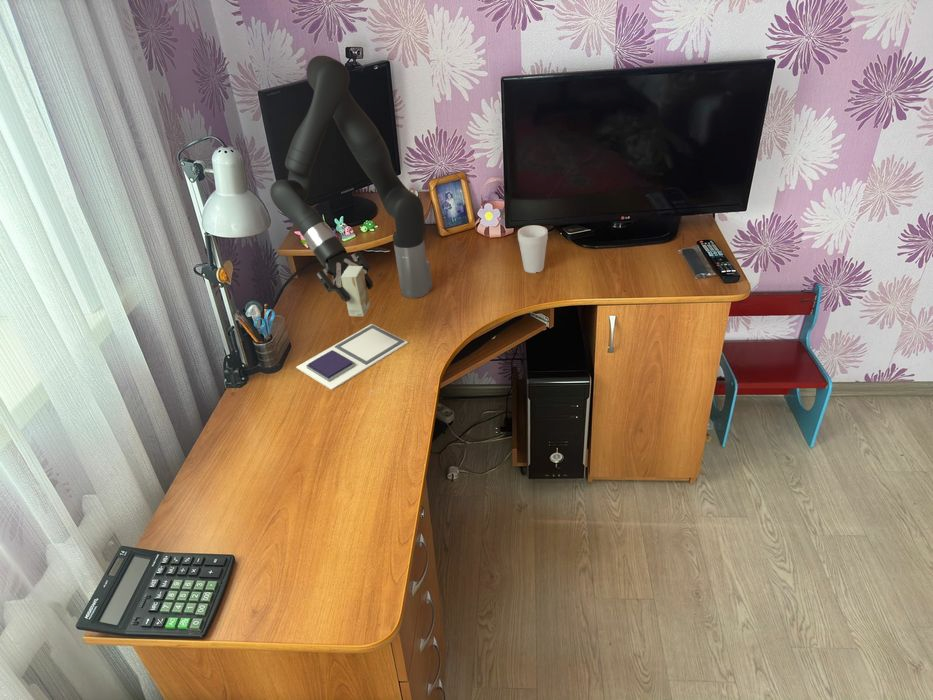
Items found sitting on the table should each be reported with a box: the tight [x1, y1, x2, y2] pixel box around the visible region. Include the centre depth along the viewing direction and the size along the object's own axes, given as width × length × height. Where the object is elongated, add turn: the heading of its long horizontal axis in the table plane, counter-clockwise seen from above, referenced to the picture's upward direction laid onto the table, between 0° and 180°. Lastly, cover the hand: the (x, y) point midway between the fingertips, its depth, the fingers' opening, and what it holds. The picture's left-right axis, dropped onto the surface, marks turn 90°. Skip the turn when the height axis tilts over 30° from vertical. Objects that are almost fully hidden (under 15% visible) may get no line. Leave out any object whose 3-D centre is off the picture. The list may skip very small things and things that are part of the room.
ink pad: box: [306, 350, 356, 382], centre depth 189 cm, size 9×10×2 cm
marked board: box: [296, 323, 409, 391], centre depth 194 cm, size 27×16×1 cm, turn 136°
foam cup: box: [517, 224, 549, 274], centre depth 223 cm, size 10×9×13 cm
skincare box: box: [341, 266, 371, 317], centre depth 186 cm, size 6×4×12 cm
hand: (360, 293), depth 186 cm, fingers closed on skincare box, 7 cm apart
